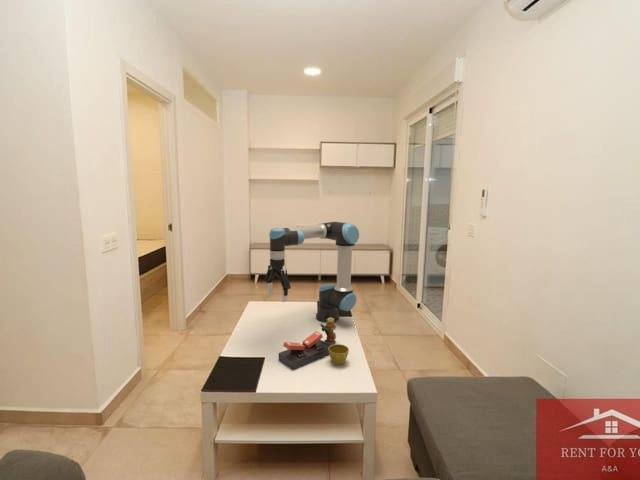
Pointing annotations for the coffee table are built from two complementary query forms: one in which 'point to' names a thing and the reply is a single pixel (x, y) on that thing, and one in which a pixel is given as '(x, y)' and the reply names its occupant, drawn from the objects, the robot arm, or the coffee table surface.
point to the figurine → (329, 331)
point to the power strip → (304, 355)
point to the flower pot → (338, 353)
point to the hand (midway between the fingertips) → (277, 298)
